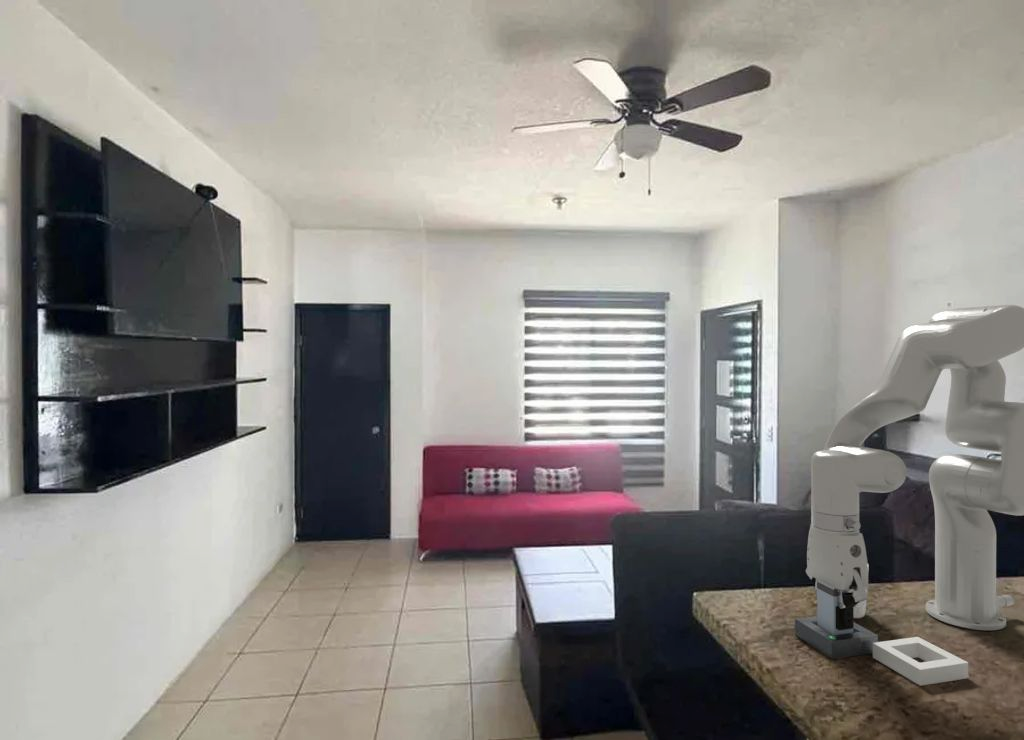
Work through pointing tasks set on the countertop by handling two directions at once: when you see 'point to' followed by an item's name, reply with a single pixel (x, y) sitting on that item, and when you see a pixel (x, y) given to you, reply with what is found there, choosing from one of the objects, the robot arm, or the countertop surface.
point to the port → (835, 639)
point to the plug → (828, 608)
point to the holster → (932, 671)
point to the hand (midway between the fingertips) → (835, 622)
